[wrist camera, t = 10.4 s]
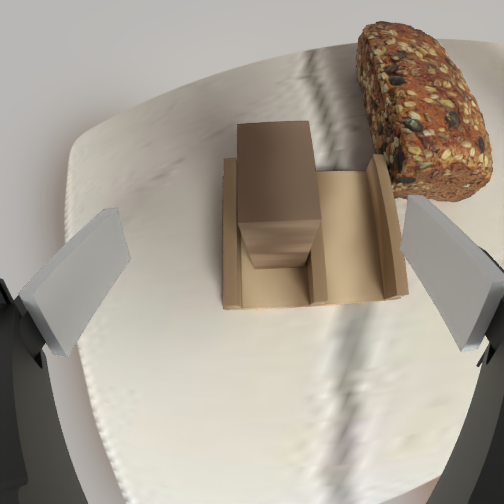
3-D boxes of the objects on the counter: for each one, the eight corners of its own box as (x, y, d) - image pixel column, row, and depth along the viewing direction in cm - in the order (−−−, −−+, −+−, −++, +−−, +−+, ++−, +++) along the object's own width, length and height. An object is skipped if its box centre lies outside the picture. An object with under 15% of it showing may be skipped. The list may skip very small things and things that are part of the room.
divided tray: (377, 176, 27) (389, 154, 24) (396, 299, 24) (415, 293, 20) (224, 181, 29) (216, 159, 25) (225, 309, 25) (215, 305, 22)
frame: (298, 200, 26) (308, 120, 16) (303, 267, 25) (321, 219, 14) (251, 202, 27) (235, 124, 16) (253, 269, 25) (235, 223, 14)
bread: (349, 71, 32) (362, 9, 22) (423, 82, 31) (447, 29, 21) (376, 203, 27) (416, 146, 17) (464, 209, 26) (517, 164, 16)
